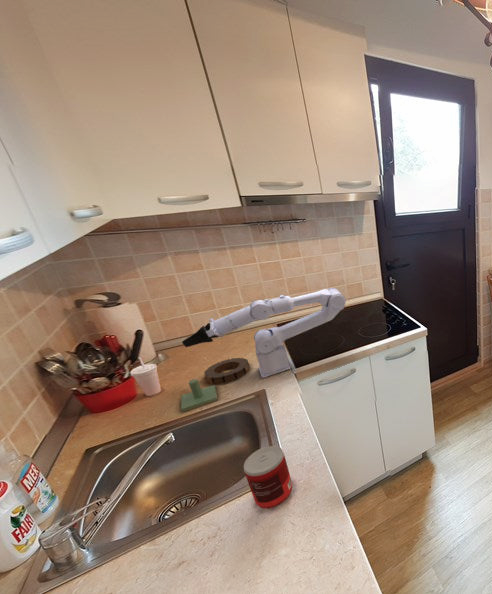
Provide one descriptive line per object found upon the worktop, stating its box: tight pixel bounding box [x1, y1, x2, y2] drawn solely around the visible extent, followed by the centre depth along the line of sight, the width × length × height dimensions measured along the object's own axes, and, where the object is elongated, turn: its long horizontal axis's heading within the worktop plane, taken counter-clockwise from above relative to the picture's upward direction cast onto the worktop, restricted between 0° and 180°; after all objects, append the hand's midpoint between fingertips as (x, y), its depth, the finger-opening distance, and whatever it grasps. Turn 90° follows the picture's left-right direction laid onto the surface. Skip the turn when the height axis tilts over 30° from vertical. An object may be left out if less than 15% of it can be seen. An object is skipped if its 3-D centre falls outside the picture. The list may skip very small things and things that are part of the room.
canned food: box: [243, 445, 293, 510], centre depth 75 cm, size 8×8×11 cm
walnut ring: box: [204, 357, 251, 385], centre depth 123 cm, size 13×13×3 cm
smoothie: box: [129, 356, 162, 397], centre depth 111 cm, size 6×6×14 cm
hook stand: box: [180, 378, 218, 413], centre depth 108 cm, size 9×9×7 cm
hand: (187, 342), depth 108 cm, fingers open, 7 cm apart
